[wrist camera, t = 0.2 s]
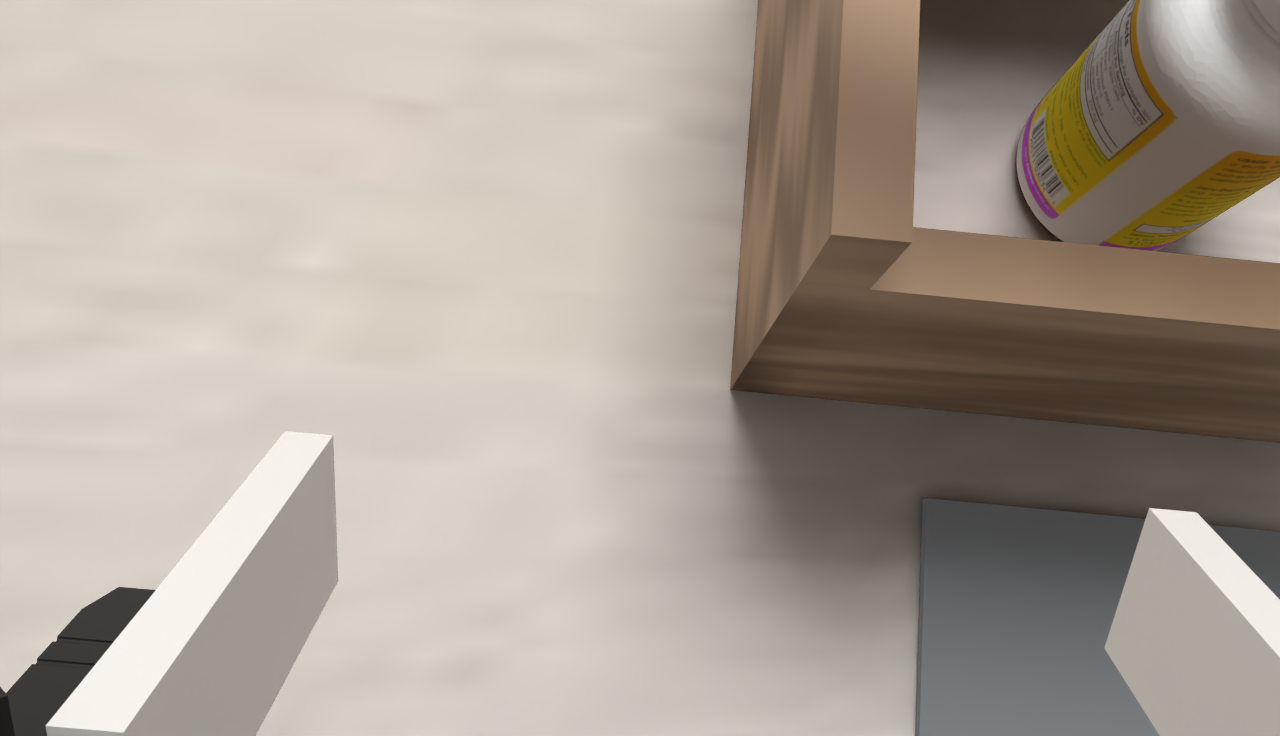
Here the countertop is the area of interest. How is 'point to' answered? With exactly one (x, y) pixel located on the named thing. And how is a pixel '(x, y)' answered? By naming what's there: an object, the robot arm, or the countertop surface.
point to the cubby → (960, 268)
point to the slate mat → (1033, 619)
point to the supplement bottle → (1157, 124)
